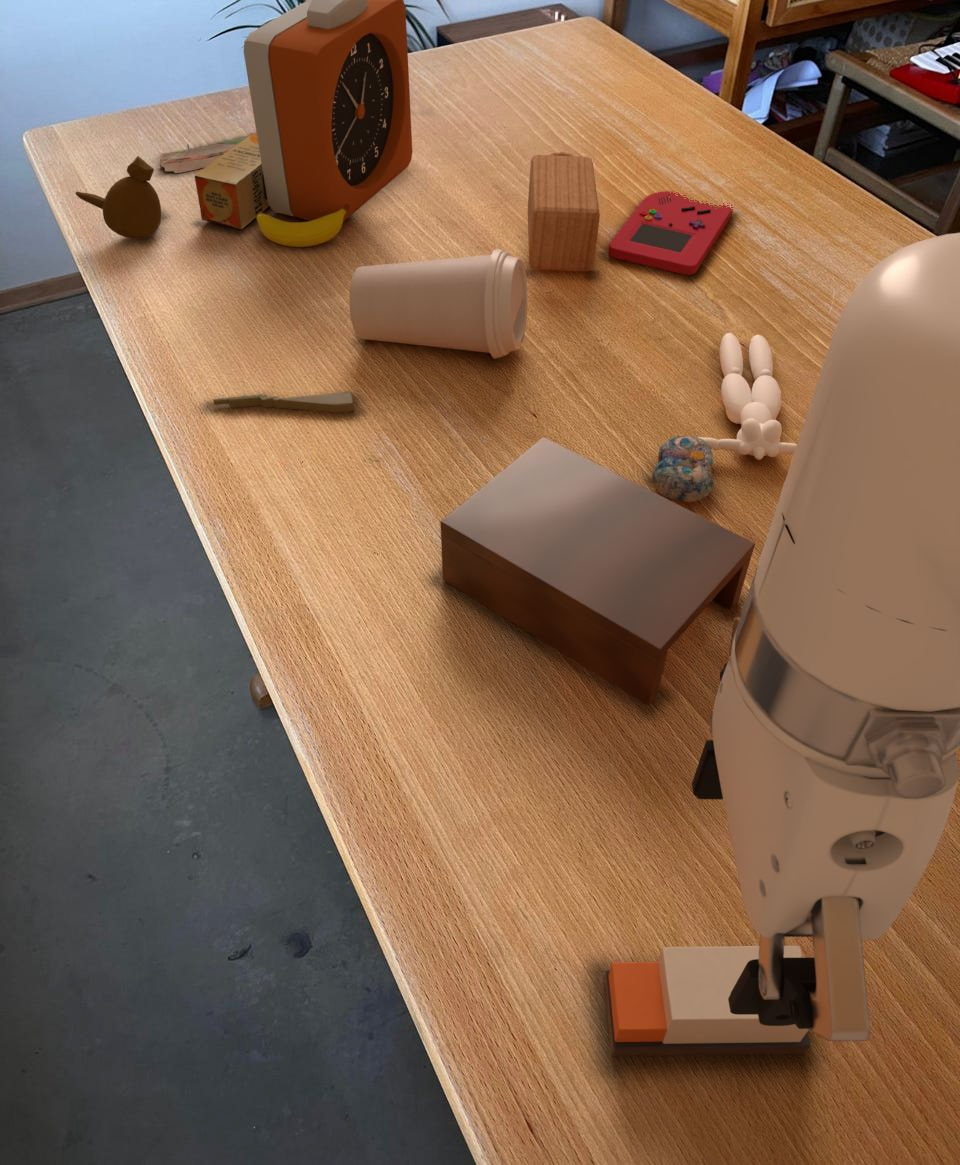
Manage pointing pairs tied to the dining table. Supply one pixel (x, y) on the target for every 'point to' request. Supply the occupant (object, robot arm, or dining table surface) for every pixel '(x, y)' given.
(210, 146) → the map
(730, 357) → the decorative figure
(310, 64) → the alarm clock
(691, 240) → the handheld gaming console
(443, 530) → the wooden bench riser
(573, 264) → the decorative item
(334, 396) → the olive tapered flat bar
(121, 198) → the figurine
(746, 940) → the dining table surface
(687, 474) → the decorative stone
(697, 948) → the tricolour layered block
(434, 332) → the coffee cup
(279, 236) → the fruit
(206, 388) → the dining table surface
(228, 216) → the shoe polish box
